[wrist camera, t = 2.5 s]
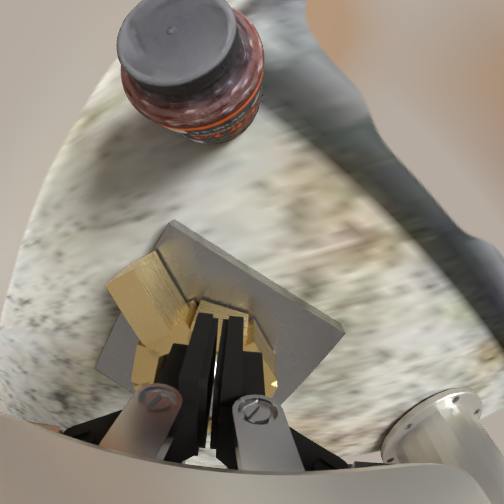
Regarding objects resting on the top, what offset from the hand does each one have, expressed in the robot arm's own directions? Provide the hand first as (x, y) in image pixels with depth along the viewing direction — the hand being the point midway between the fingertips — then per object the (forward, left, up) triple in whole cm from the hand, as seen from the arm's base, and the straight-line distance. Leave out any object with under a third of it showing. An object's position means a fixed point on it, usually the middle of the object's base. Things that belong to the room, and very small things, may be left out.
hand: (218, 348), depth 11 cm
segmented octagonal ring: (0, +6, -9) cm, 10 cm away
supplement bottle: (+7, -8, -11) cm, 15 cm away
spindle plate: (-2, +7, -10) cm, 12 cm away
